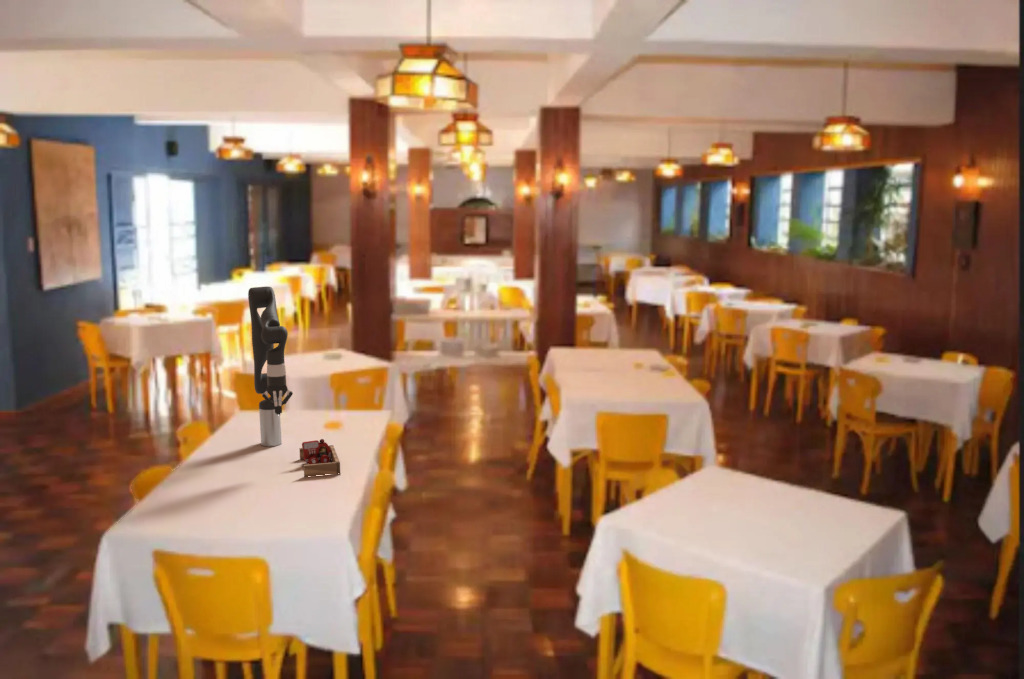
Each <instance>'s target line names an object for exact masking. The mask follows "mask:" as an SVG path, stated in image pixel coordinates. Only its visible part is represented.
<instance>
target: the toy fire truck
mask: <svg viewBox="0 0 1024 679" xmlns="http://www.w3.org/2000/svg"><path fill="white" fill-rule="evenodd" d="M324 446H325V447H326V448H325V447H324ZM329 446H330V445H329V444H328V443H327V442H325V440H324V439H323V438H321V439H318V440H310V441H303V442H302V443H301V448H303V453H304V460H303V461H304V463H307V464H319V463H330V462H331V449H330V448H329ZM326 452H327V453H326Z"/></svg>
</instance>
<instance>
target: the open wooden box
mask: <svg viewBox="0 0 1024 679" xmlns="http://www.w3.org/2000/svg"><path fill="white" fill-rule="evenodd" d="M328 446H329V448H330V449H331V459H332V460H331V459H330V460H331V461H329V463H321V462H318V464H309V463H307V464H303V477H308V476H316V475H325V474H338V473H340V474H341V461H340V459H339V457H338V454H337V452H336V449H335V447H334V445H333V444H332V445H328ZM324 447H325V446H324ZM325 448H326V447H325ZM326 453H327V452H326ZM299 460H300V461H304V453H303V448H302V447H299ZM308 478H309V477H308Z"/></svg>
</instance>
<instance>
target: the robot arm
mask: <svg viewBox="0 0 1024 679" xmlns="http://www.w3.org/2000/svg"><path fill="white" fill-rule="evenodd" d="M247 298H248V306H249V307H248V308H249V314H250V322H251V324H250V325H251V345H252V354H253V366H254V367H253V371H254V372H253V374H254V375H253V377H254V378H253V379H254V383H253V384H254V390H255V393H256V394H258V395H261V396H262V398H263V399H262V400H261V401H260V402H259V403H258V411H259V412H258V413H259V414H258V415H259V428H260V429H259V430H260V444H261V446H262V447H275V446H276V447H278V446H280V445H282V426H281V423H282V422H281V420H282V419H281V414H282V413H283V405H286V404H287V402H288V401H290V399H291V397H292V396H293V391H292V390H290V389H288V385H287V375H286V374H287V369H286V364H285V348H286V344H287V340H288V335H289V334H288V333H289V332H288V330H287V328H286V327H285V326H283V325H281V324H280V319H279V316H278V313H277V310H278V309H277V300H276V295H275V291H274V288H272V286H258V287H257V286H256V287H250V288H249V289H248V293H247ZM259 309H264V310H263V311H262V312H261V316H260V314H259V312H258V310H259ZM274 344H277V346H276V347H275V345H274ZM265 364H266V373H262V371H263V368H264V366H265ZM285 395H286V396H285ZM284 396H285V397H284ZM283 397H284V398H283Z"/></svg>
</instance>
